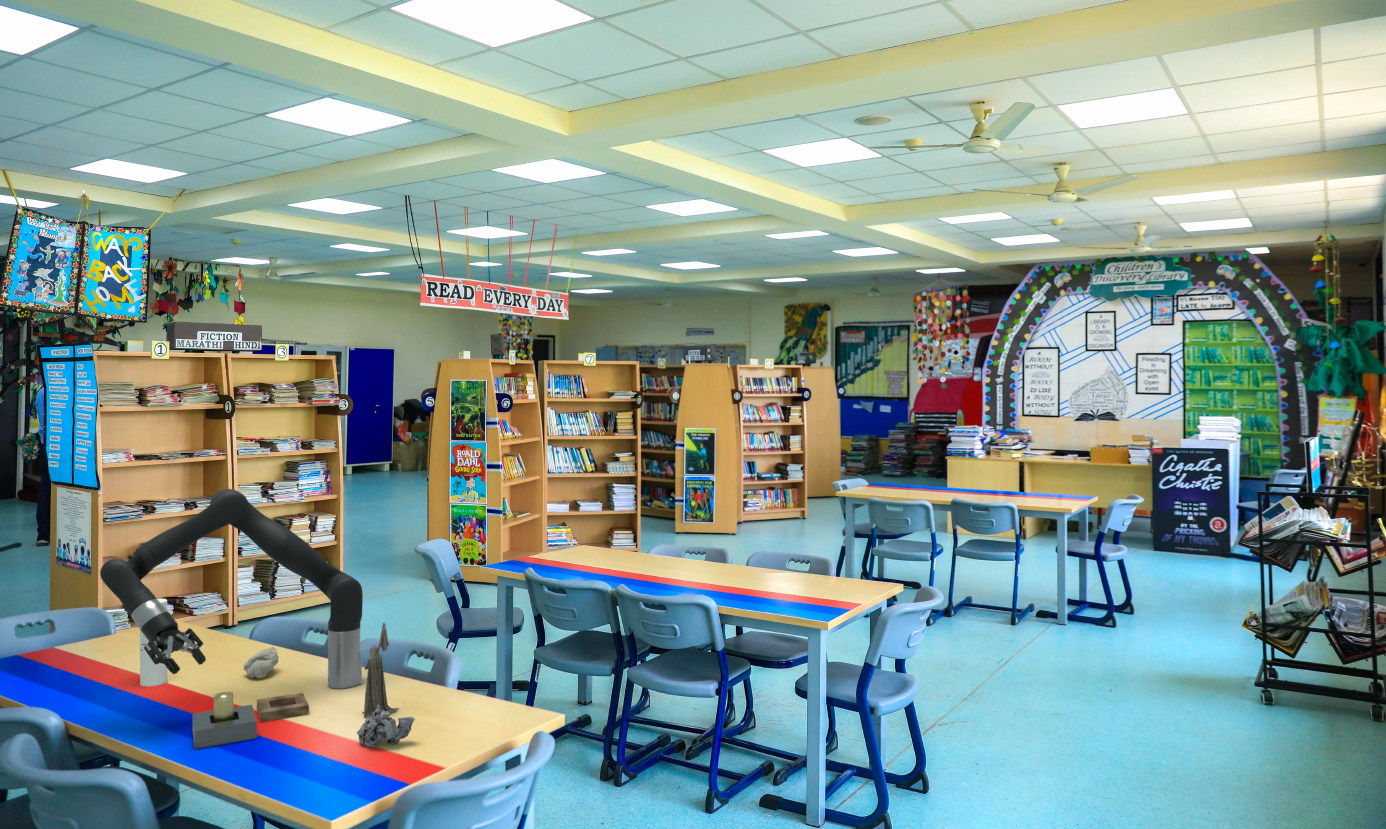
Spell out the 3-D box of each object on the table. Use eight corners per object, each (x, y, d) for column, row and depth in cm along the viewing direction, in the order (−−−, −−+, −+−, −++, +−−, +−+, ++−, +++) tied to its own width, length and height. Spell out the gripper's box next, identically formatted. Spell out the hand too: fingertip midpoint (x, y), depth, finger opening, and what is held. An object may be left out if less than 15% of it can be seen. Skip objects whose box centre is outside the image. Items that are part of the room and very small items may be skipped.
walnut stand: (302, 701, 255) (302, 692, 255) (308, 714, 245) (308, 705, 245) (256, 708, 249) (256, 699, 249) (260, 722, 239) (260, 712, 239)
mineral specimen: (421, 726, 226) (396, 692, 225) (393, 752, 218) (367, 717, 217) (395, 739, 233) (371, 706, 233) (367, 764, 225) (342, 731, 224)
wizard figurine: (383, 704, 253) (384, 617, 253) (403, 709, 249) (403, 621, 248) (352, 714, 245) (353, 625, 244) (372, 721, 240) (373, 629, 240)
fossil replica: (245, 683, 271) (280, 680, 276) (248, 657, 270) (283, 654, 276) (240, 670, 281) (274, 667, 286) (242, 644, 280) (276, 642, 286)
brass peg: (232, 730, 233) (232, 690, 233) (234, 735, 229) (233, 695, 229) (213, 733, 231) (213, 693, 230) (214, 739, 227) (214, 698, 226)
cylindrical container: (154, 687, 266) (154, 604, 266) (134, 685, 268) (134, 603, 267) (173, 679, 273) (172, 599, 273) (153, 678, 275) (152, 598, 274)
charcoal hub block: (251, 721, 239) (251, 704, 239) (256, 738, 227) (256, 721, 227) (192, 730, 232) (192, 713, 232) (194, 749, 220) (194, 731, 220)
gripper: (139, 617, 227) (177, 665, 224) (184, 605, 241) (219, 650, 238) (123, 636, 228) (159, 684, 226) (168, 623, 242) (203, 668, 239)
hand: (190, 667), depth 232 cm, fingers open, 8 cm apart
